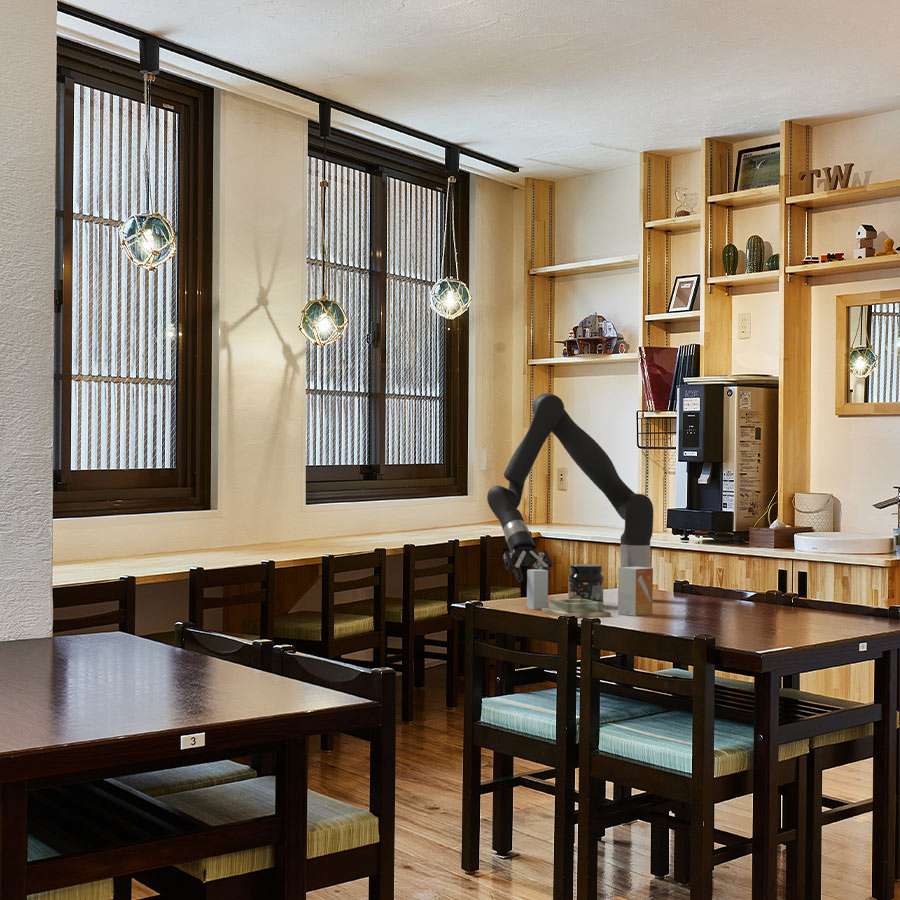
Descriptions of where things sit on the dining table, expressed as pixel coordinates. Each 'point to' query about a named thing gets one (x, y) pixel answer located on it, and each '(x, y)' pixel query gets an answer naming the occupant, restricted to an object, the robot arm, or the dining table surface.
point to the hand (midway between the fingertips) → (534, 579)
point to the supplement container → (586, 582)
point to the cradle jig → (576, 608)
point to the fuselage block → (537, 589)
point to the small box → (635, 591)
